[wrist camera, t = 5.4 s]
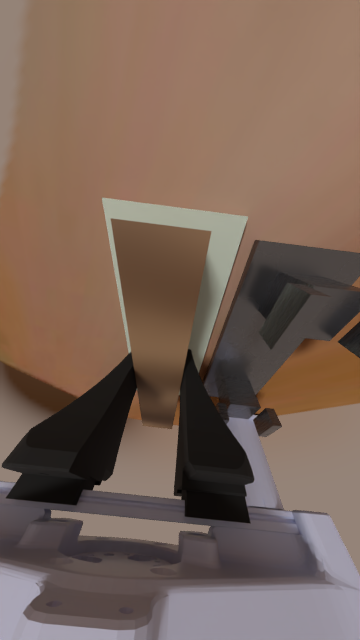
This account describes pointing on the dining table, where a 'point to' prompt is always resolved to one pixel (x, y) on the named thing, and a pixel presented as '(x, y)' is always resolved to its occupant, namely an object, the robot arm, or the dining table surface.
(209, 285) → the mat
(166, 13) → the dining table surface
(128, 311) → the rail
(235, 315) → the rack
